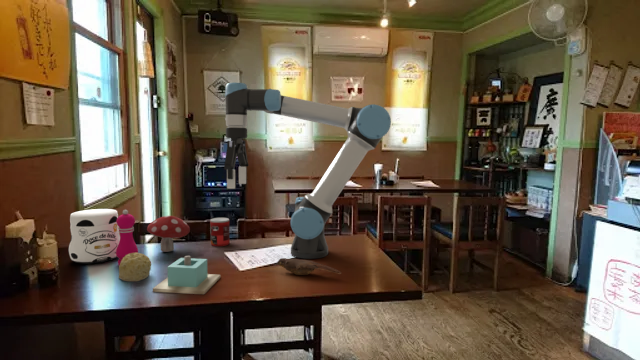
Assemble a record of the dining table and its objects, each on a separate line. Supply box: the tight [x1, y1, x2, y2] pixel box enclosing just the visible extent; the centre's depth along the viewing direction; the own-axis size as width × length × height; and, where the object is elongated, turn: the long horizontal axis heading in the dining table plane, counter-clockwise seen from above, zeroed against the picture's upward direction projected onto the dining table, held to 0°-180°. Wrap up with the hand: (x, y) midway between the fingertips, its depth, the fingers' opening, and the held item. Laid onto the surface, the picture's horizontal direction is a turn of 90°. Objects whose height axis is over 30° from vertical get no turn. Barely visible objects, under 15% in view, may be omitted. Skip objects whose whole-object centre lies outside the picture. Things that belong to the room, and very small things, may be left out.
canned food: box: [209, 217, 231, 247], centre depth 170 cm, size 8×8×11 cm
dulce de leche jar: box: [68, 208, 120, 265], centre depth 147 cm, size 17×17×18 cm
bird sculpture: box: [272, 257, 342, 276], centre depth 134 cm, size 7×25×5 cm, turn 71°
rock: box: [118, 252, 152, 282], centre depth 130 cm, size 10×11×10 cm
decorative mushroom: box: [146, 215, 191, 253], centre depth 158 cm, size 16×16×15 cm
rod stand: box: [152, 255, 221, 295], centre depth 124 cm, size 16×14×9 cm
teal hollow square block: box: [166, 257, 209, 287], centre depth 124 cm, size 9×9×6 cm
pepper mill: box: [116, 209, 139, 266], centre depth 142 cm, size 7×7×20 cm
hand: (237, 186), depth 144 cm, fingers open, 13 cm apart
